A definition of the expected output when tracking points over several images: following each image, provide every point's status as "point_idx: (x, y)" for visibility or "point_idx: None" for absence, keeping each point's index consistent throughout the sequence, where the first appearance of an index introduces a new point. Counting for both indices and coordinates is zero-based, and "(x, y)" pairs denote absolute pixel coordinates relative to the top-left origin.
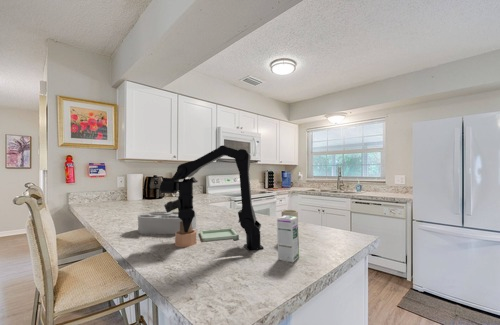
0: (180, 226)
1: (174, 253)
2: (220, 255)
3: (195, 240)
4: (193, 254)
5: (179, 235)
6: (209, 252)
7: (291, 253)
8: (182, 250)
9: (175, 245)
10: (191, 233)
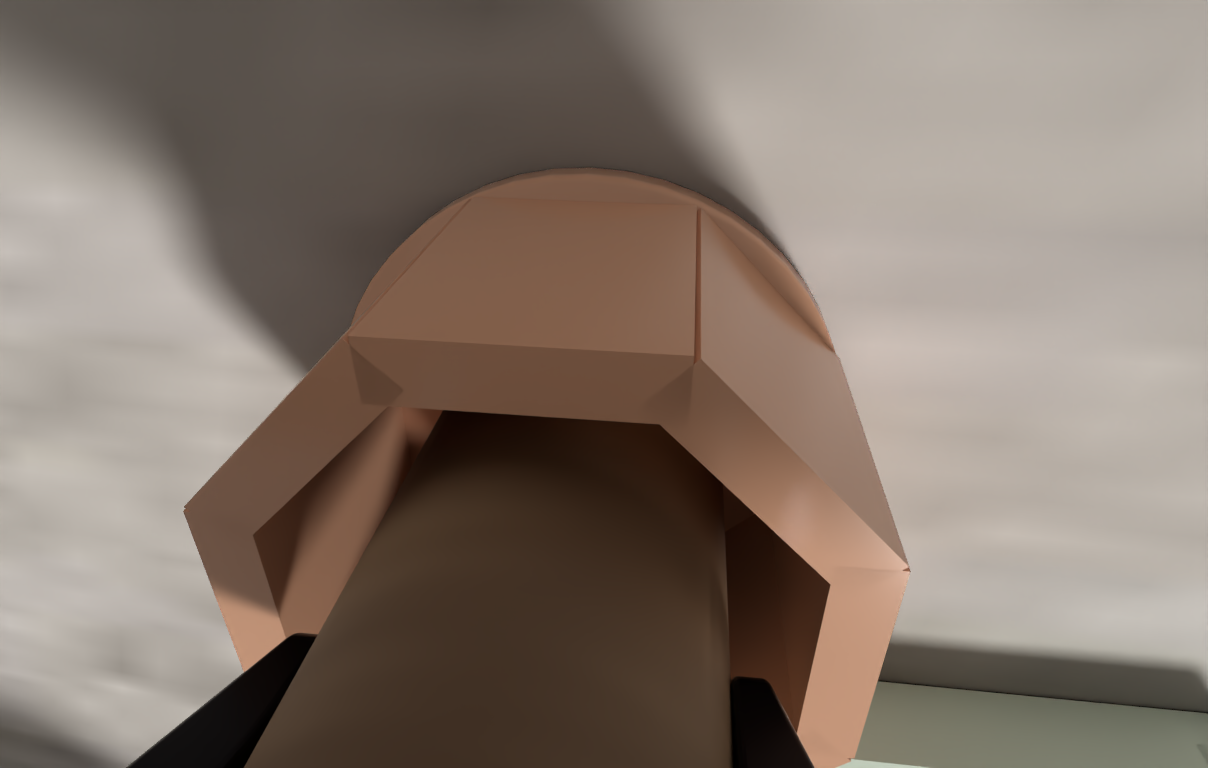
0: (327, 718)
1: (95, 155)
2: (44, 707)
3: None
4: (59, 461)
5: (247, 440)
6: (149, 642)
7: None
8: (269, 319)
9: (462, 203)
10: None
